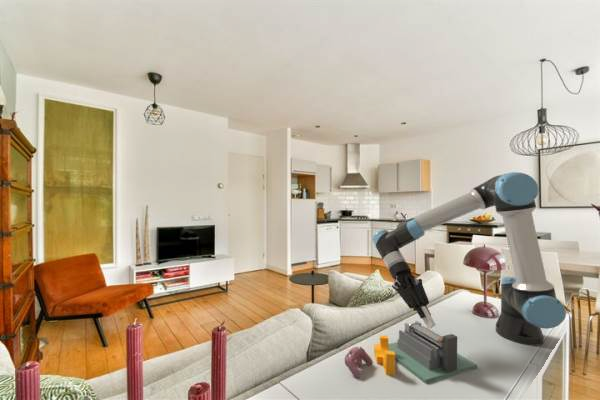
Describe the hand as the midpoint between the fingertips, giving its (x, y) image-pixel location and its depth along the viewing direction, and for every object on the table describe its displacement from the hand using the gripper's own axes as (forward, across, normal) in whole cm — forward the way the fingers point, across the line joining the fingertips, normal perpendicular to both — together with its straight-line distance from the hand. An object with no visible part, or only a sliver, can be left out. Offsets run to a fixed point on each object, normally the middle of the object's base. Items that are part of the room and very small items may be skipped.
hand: (431, 326), depth 93 cm
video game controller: (+5, +25, -12) cm, 28 cm away
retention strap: (+2, 0, -4) cm, 4 cm away
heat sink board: (+6, 0, -10) cm, 12 cm away
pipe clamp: (+5, +16, -12) cm, 20 cm away
